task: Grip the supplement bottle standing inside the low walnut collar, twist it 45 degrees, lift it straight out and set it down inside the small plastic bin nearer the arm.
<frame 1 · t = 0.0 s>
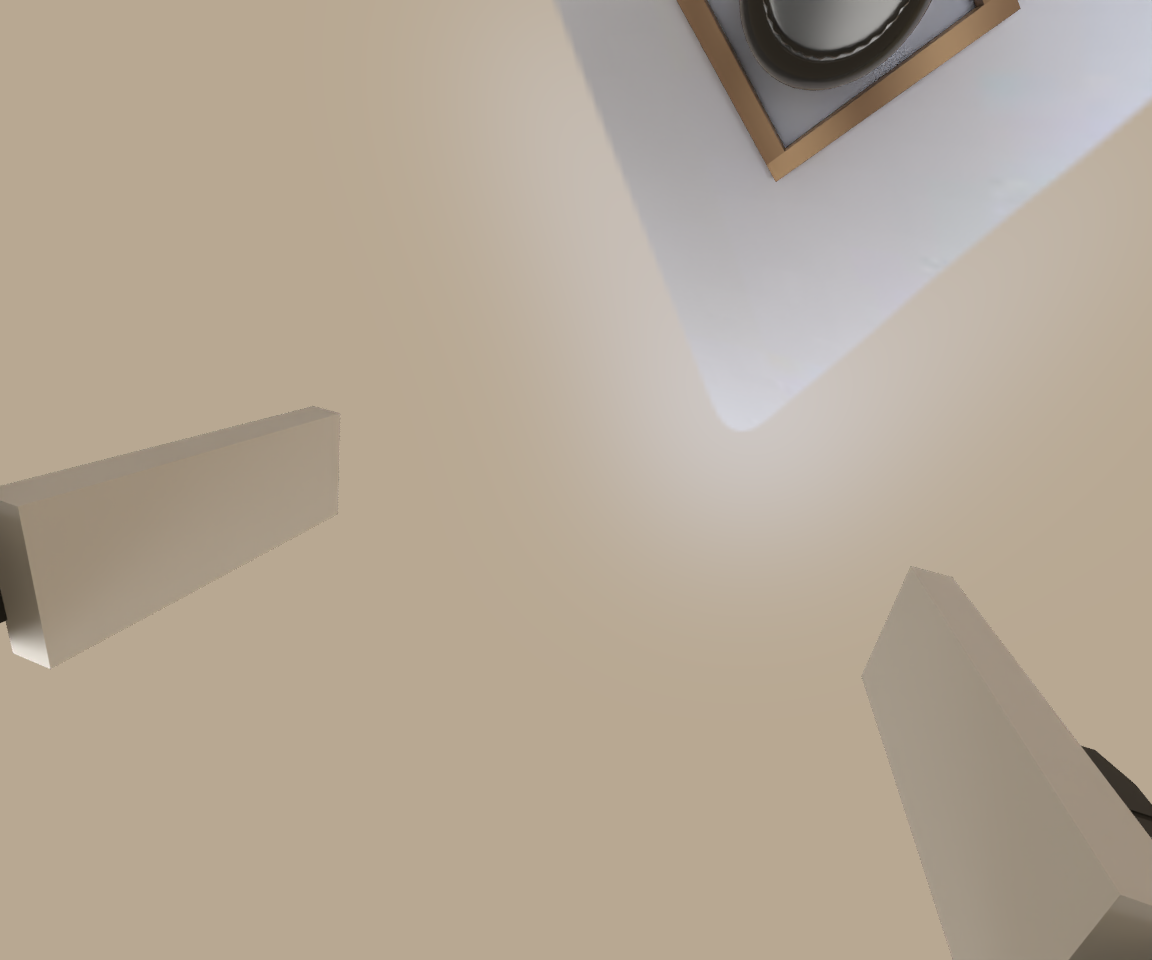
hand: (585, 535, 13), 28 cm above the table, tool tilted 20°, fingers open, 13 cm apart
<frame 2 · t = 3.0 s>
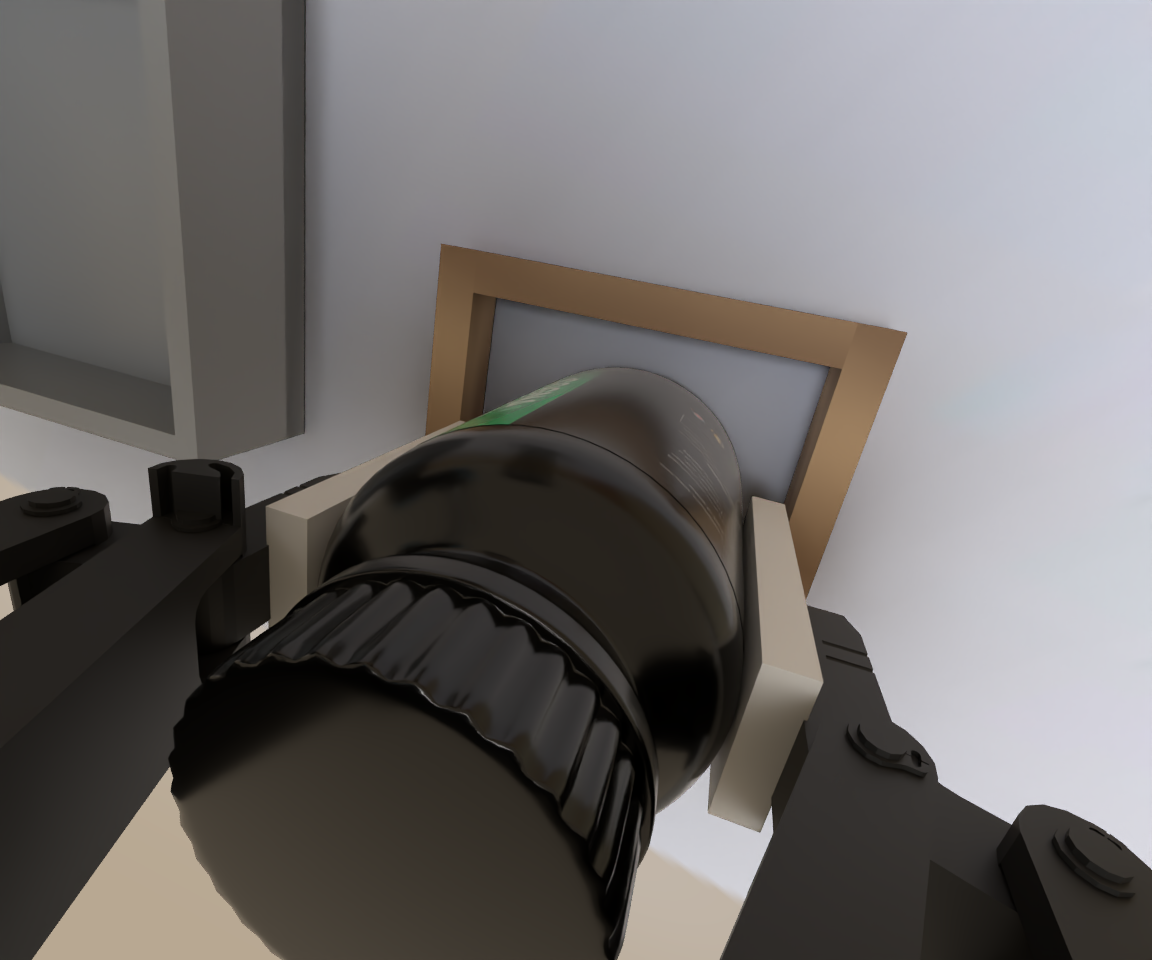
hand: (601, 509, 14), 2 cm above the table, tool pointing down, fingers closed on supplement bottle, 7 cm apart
collar: (619, 482, 16), on the table
supplement bottle: (621, 480, 16), resting in collar, touching gripper
bin: (139, 202, 18), on the table
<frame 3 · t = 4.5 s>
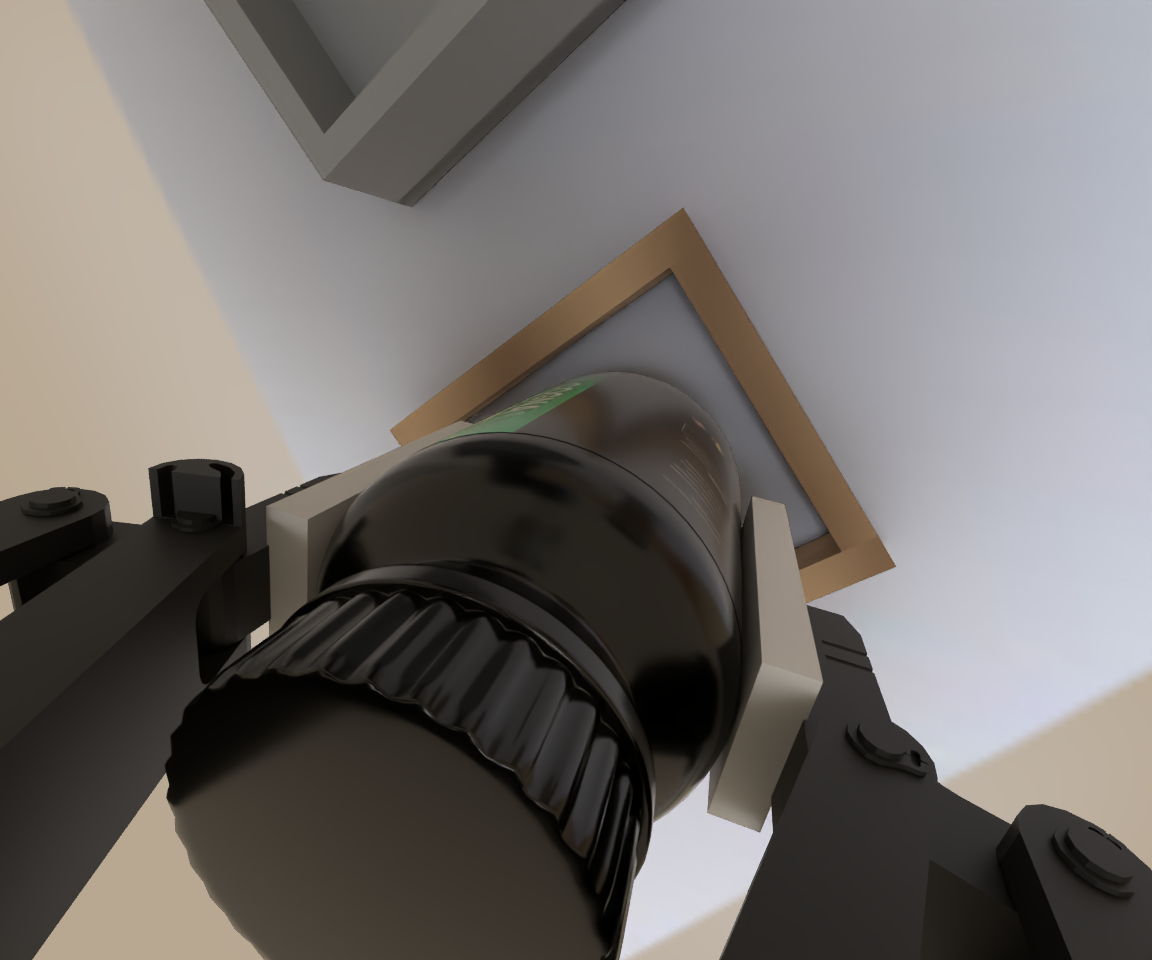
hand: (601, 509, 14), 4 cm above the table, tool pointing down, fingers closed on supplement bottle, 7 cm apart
collar: (628, 477, 18), on the table
supplement bottle: (620, 484, 16), point 2 cm above the table, touching gripper
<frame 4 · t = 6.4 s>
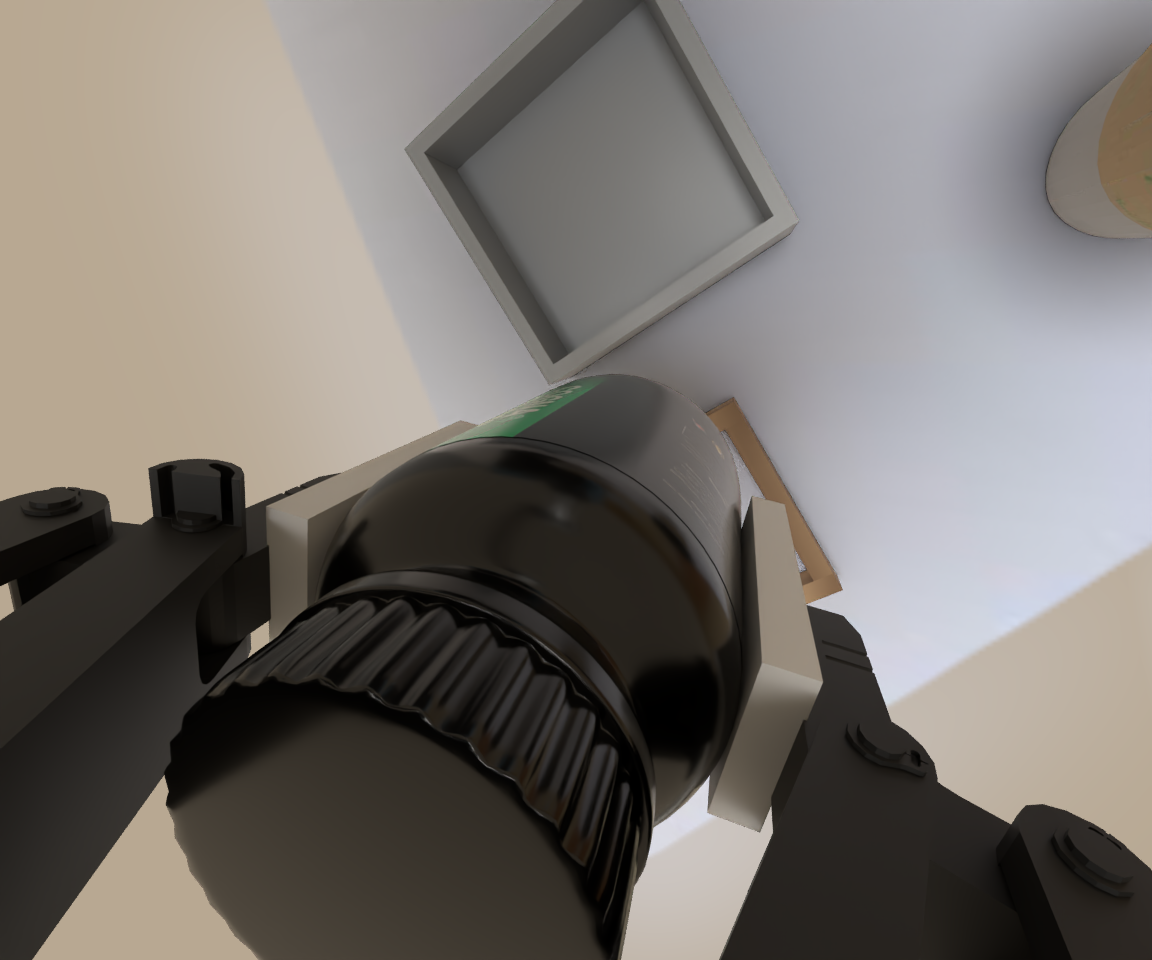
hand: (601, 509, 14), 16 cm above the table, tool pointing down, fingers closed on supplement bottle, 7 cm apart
collar: (692, 533, 31), on the table
supplement bottle: (620, 487, 16), point 14 cm above the table, touching gripper
bin: (607, 200, 27), on the table
coffee cup: (1133, 157, 22), on the table
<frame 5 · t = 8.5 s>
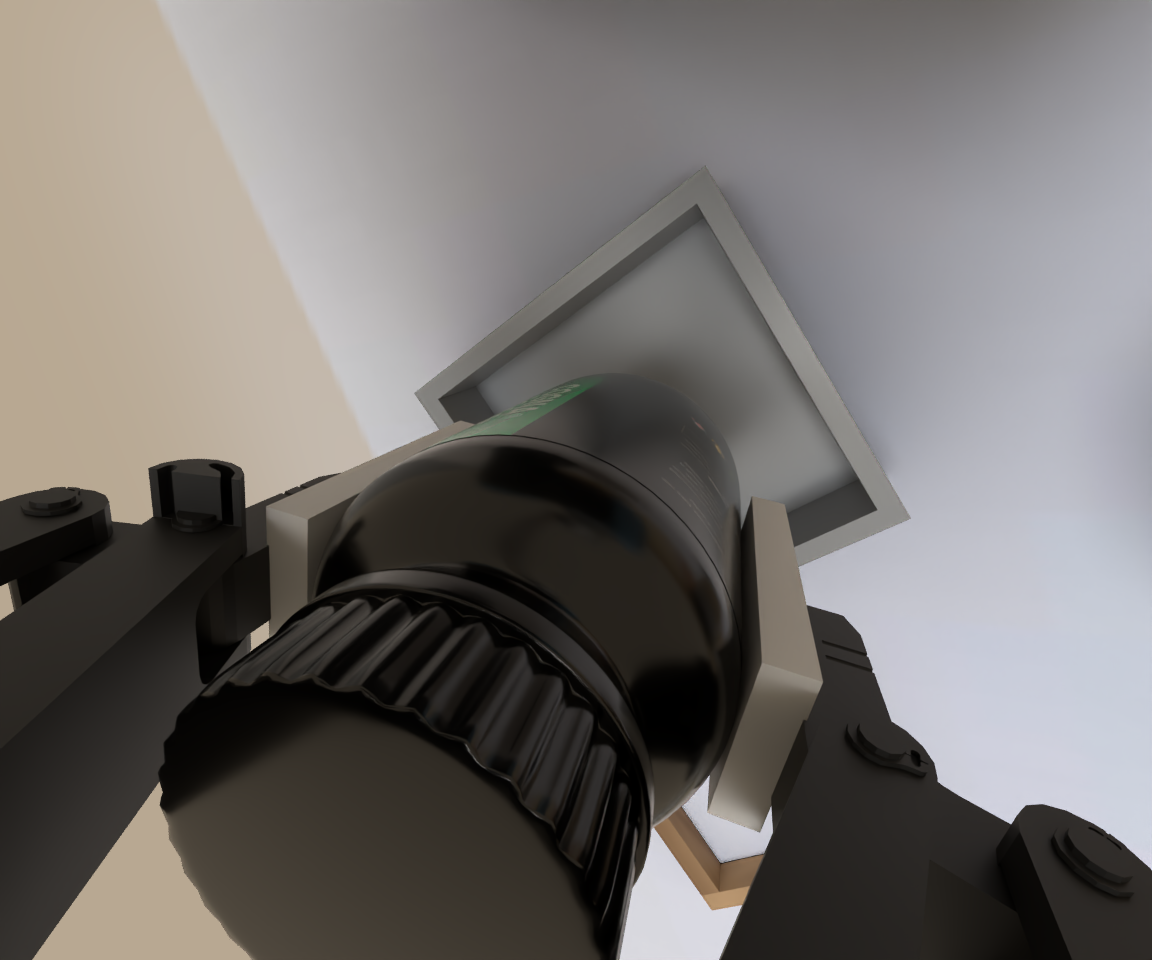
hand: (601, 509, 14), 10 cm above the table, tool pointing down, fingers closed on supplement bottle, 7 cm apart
collar: (755, 775, 27), on the table
supplement bottle: (619, 486, 16), point 7 cm above the table, touching gripper
bin: (656, 425, 23), on the table
when the fingers open (4 cm above the table, at t = 9.8 s): supplement bottle drops 2 cm, resting on bin.
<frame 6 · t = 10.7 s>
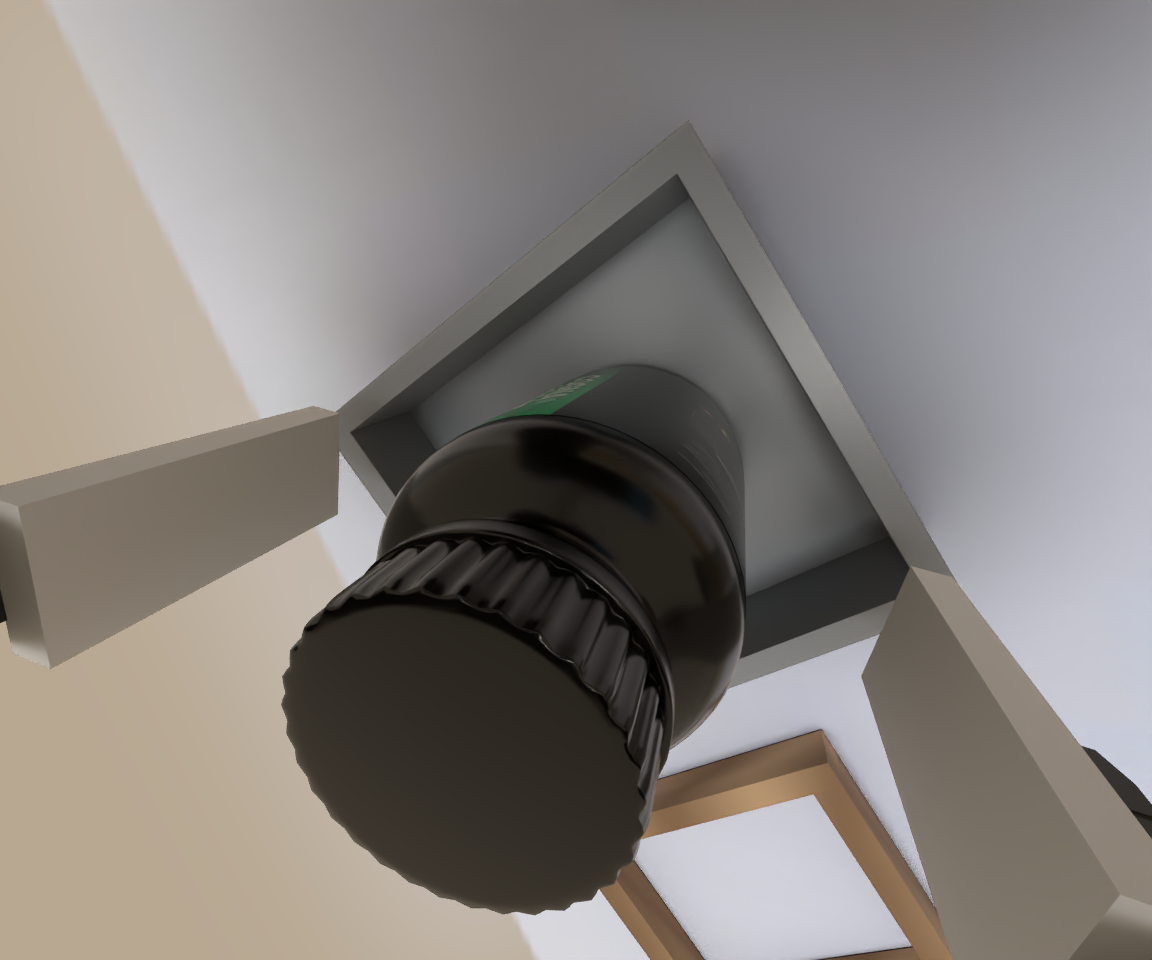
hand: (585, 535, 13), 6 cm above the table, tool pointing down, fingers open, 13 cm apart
collar: (756, 878, 22), on the table
supplement bottle: (632, 470, 18), point 1 cm above the table, touching bin
bin: (633, 461, 18), on the table
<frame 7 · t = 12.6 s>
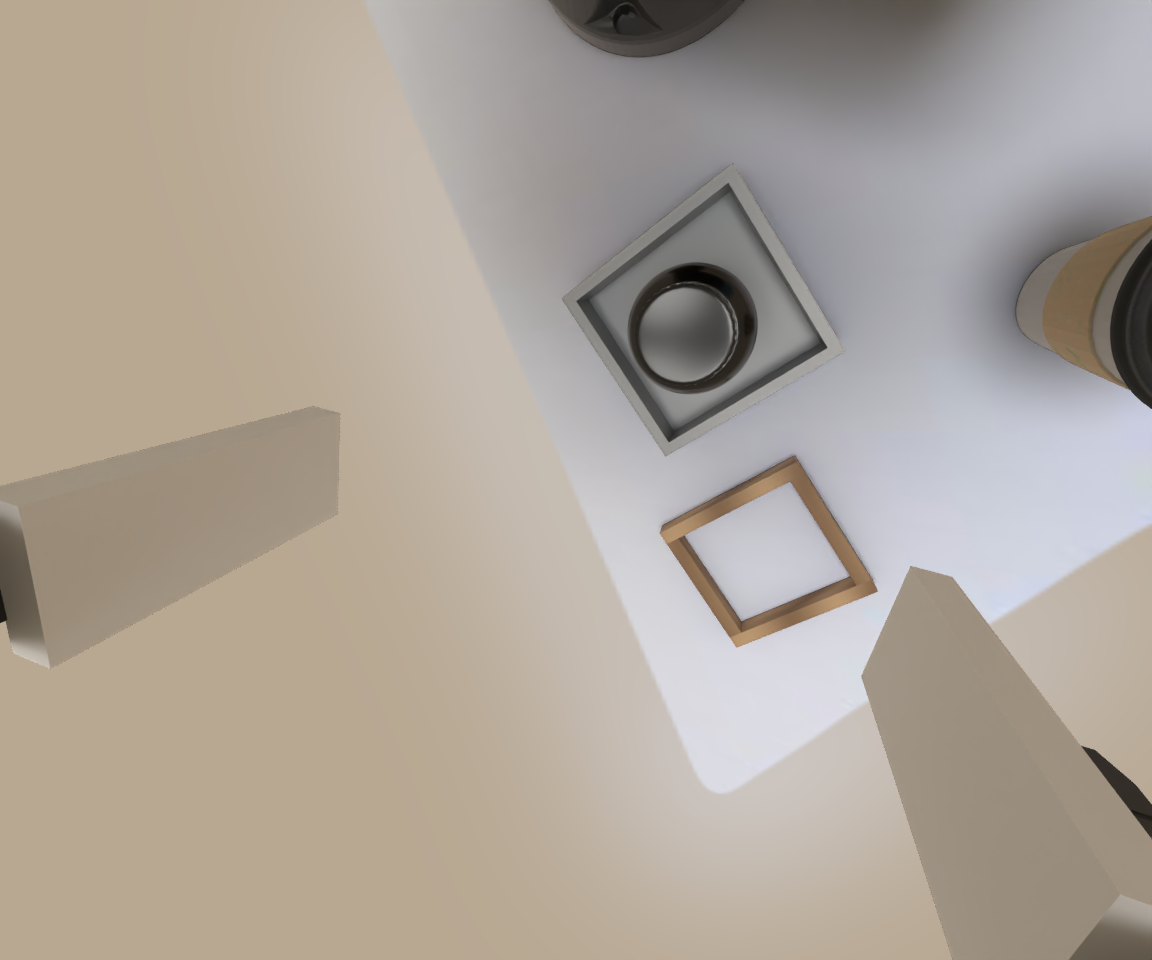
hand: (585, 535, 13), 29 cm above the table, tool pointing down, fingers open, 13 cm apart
collar: (763, 552, 42), on the table
supplement bottle: (701, 322, 37), point 1 cm above the table, touching bin
bin: (700, 319, 38), on the table
coffee cup: (1075, 296, 32), on the table
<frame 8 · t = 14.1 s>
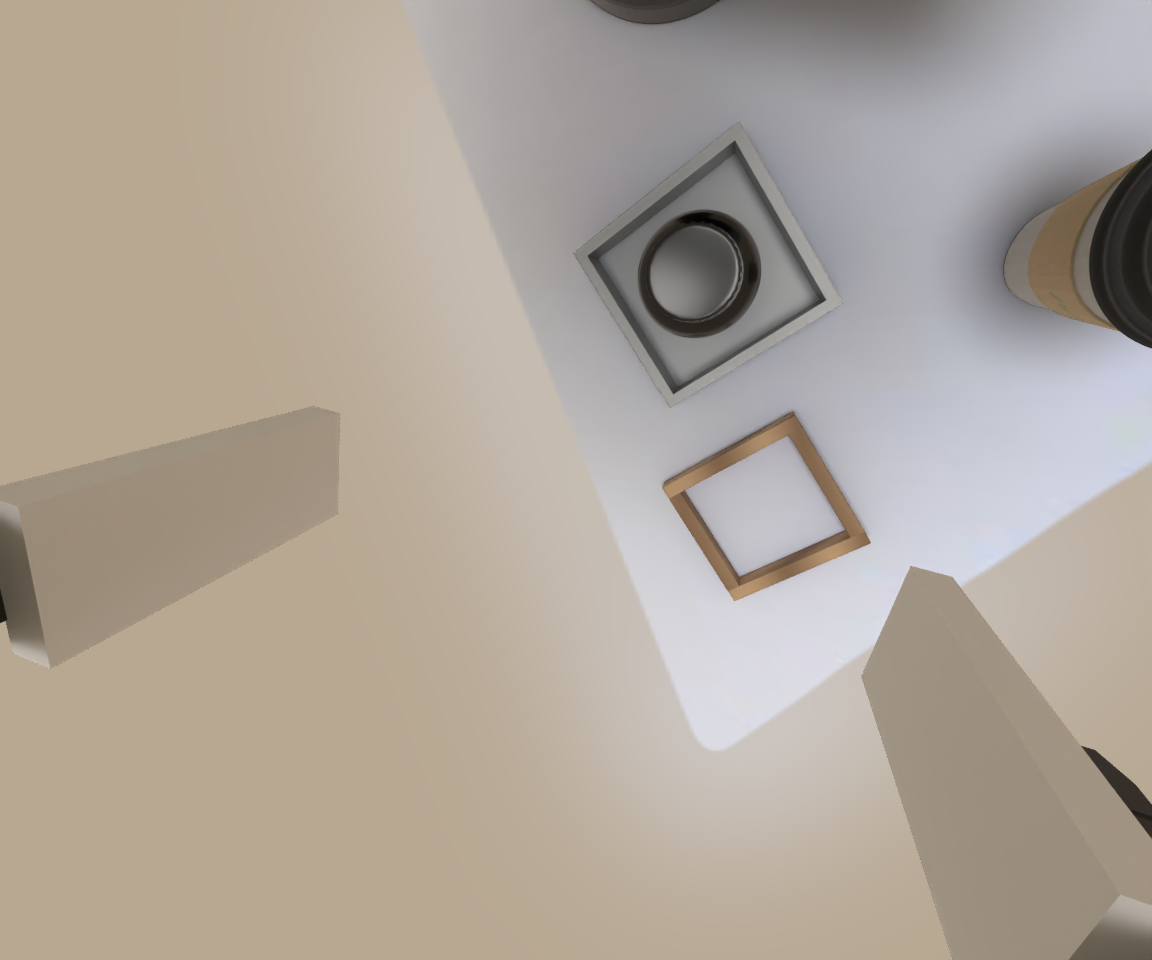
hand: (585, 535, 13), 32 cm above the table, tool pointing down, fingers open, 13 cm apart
collar: (762, 507, 43), on the table
supplement bottle: (706, 280, 39), point 1 cm above the table, touching bin
bin: (705, 279, 39), on the table
coffee cup: (1059, 256, 34), on the table
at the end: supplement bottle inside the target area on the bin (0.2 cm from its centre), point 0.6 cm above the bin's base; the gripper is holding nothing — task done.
